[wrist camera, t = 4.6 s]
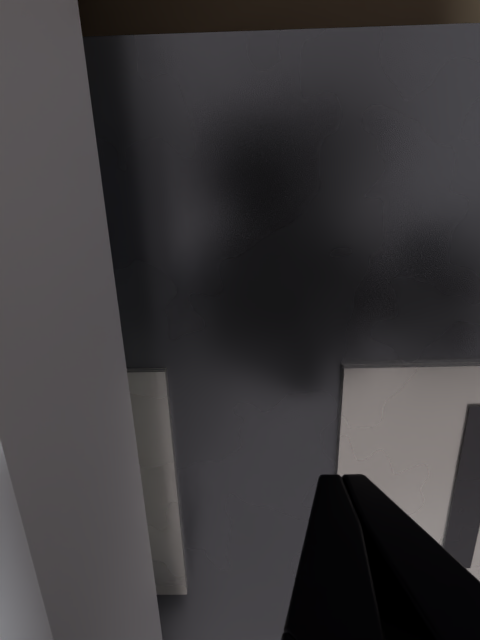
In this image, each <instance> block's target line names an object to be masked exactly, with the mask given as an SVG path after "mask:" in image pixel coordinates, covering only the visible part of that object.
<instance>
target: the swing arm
mask: <svg viewBox="0 0 480 640" xmlns="http://www.w3.org/2000/svg"><path fill="white" fill-rule="evenodd" d="M0 640H163V639H162V632H161V624H160V617H159V609H158V602H157V594H156V586H155V579H154V571H153V564H152V556H151V549H150V541H149V534H148V526H147V519H146V511H145V504H144V496H143V489H142V481H141V474H140V466H139V459H138V451H137V444H136V436H135V429H134V421H133V414H132V406H131V398H130V391H129V383H128V376H127V368H126V361H125V353H124V346H123V338H122V331H121V323H120V316H119V308H118V301H117V293H116V286H115V278H114V271H113V263H112V256H111V248H110V241H109V233H108V226H107V218H106V210H105V203H104V195H103V188H102V180H101V173H100V165H99V158H98V150H97V143H96V135H95V128H94V120H93V113H92V105H91V98H90V90H89V83H88V75H87V68H86V60H85V53H84V45H83V38H82V30H81V22H80V15H79V7H78V0H0Z"/></svg>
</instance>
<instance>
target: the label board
mask: <svg viewBox="0 0 480 640" xmlns="http://www.w3.org/2000/svg"><path fill="white" fill-rule="evenodd" d="M82 38H83V45H84V53H85V60H86V68H87V75H88V83H89V90H90V98H91V105H92V113H93V120H94V128H95V135H96V143H97V150H98V158H99V165H100V173H101V180H102V188H103V195H104V203H105V210H106V218H107V226H108V233H109V241H110V248H111V256H112V263H113V271H114V278H115V286H116V293H117V301H118V308H119V316H120V323H121V331H122V338H123V346H124V353H125V361H126V368H127V376H128V383H129V391H130V398H131V406H132V414H133V421H134V429H135V436H136V444H137V451H138V459H139V466H140V474H141V481H142V489H143V496H144V504H145V511H146V519H147V526H148V534H149V541H150V549H151V556H152V564H153V571H154V579H155V586H156V594H157V602H158V609H159V617H160V624H161V632H162V639H163V640H281V637H282V634H283V633H284V625H285V621H286V616H287V612H288V608H289V603H290V599H291V595H292V590H293V586H294V582H295V577H296V573H297V569H298V564H299V560H300V556H301V551H302V547H303V543H304V538H305V534H306V530H307V526H308V521H309V517H310V513H311V508H312V504H313V500H314V495H315V491H316V487H317V482H318V478H319V476H320V475H322V474H339V475H340V476H341V477H342V476H343V475H344V474H363V475H365V476H366V477H368V478H369V479H370V480H371V481H372V482H373V483H374V484H375V485H376V486H377V487H378V488H379V489H381V490H382V491H383V492H384V493H385V494H386V495H387V496H388V497H389V498H390V499H391V500H392V501H394V502H395V503H396V504H397V505H398V506H399V507H400V508H401V509H402V510H403V511H404V512H405V513H407V514H408V515H409V516H410V517H411V518H412V519H413V520H414V521H415V522H416V523H417V524H418V525H419V526H421V527H422V528H423V529H424V530H425V531H426V532H427V533H428V534H429V535H430V536H431V537H432V538H434V539H435V540H436V541H437V542H438V543H439V544H440V545H441V546H442V547H443V548H444V549H445V550H447V551H448V552H449V553H450V554H451V555H452V556H453V557H454V558H455V559H456V560H457V561H458V562H460V563H461V564H462V565H463V566H464V567H465V568H466V569H467V570H468V571H469V572H470V573H471V574H472V575H474V576H475V577H476V578H477V579H478V580H479V581H480V23H463V24H434V25H405V26H376V27H347V28H319V29H290V30H261V31H232V32H203V33H175V34H146V35H117V36H88V37H82Z"/></svg>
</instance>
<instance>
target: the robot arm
mask: <svg viewBox="0 0 480 640" xmlns="http://www.w3.org/2000/svg"><path fill="white" fill-rule="evenodd" d="M281 640H480V581H479V580H478V579H477V578H476V577H475V576H474V575H472V574H471V573H470V572H469V571H468V570H467V569H466V568H465V567H464V566H463V565H462V564H461V563H460V562H458V561H457V560H456V559H455V558H454V557H453V556H452V555H451V554H450V553H449V552H448V551H447V550H445V549H444V548H443V547H442V546H441V545H440V544H439V543H438V542H437V541H436V540H435V539H434V538H432V537H431V536H430V535H429V534H428V533H427V532H426V531H425V530H424V529H423V528H422V527H421V526H419V525H418V524H417V523H416V522H415V521H414V520H413V519H412V518H411V517H410V516H409V515H408V514H407V513H405V512H404V511H403V510H402V509H401V508H400V507H399V506H398V505H397V504H396V503H395V502H394V501H392V500H391V499H390V498H389V497H388V496H387V495H386V494H385V493H384V492H383V491H382V490H381V489H379V488H378V487H377V486H376V485H375V484H374V483H373V482H372V481H371V480H370V479H369V478H368V477H366V476H365V475H363V474H344V475H343V476H342V477H341V476H340V475H339V474H322V475H320V476H319V478H318V482H317V487H316V491H315V495H314V500H313V504H312V508H311V513H310V517H309V521H308V526H307V530H306V534H305V538H304V543H303V547H302V551H301V556H300V560H299V564H298V569H297V573H296V577H295V582H294V586H293V590H292V595H291V599H290V603H289V608H288V612H287V616H286V621H285V625H284V633H283V634H282V637H281Z"/></svg>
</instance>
